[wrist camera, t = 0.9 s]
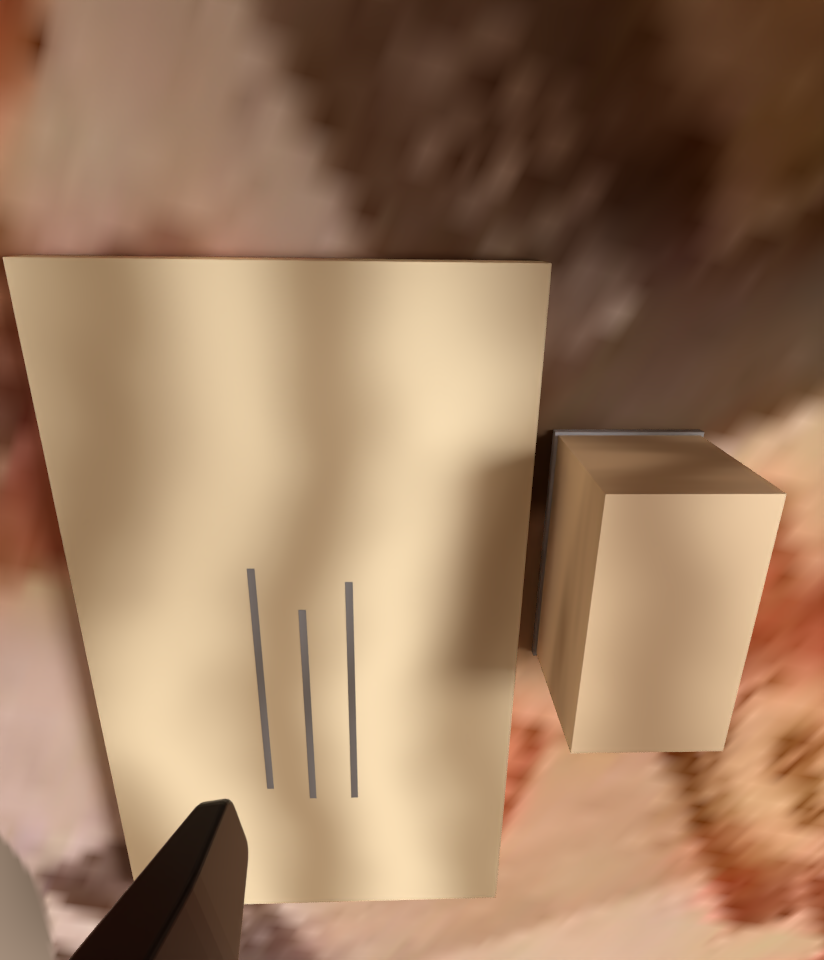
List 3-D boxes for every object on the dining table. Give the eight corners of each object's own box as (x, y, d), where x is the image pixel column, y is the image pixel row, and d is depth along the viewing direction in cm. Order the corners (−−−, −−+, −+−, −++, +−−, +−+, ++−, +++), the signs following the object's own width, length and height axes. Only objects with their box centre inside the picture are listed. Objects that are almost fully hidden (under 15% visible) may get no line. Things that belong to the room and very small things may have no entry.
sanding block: (698, 428, 20) (791, 489, 15) (657, 647, 23) (726, 753, 18) (552, 428, 20) (601, 490, 15) (530, 648, 23) (567, 756, 18)
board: (541, 260, 18) (551, 263, 17) (491, 869, 27) (495, 897, 26) (27, 254, 17) (2, 256, 16) (149, 878, 26) (139, 907, 25)
